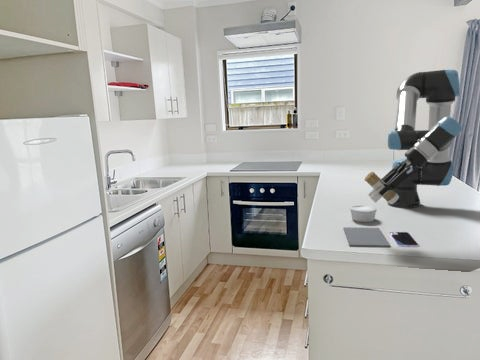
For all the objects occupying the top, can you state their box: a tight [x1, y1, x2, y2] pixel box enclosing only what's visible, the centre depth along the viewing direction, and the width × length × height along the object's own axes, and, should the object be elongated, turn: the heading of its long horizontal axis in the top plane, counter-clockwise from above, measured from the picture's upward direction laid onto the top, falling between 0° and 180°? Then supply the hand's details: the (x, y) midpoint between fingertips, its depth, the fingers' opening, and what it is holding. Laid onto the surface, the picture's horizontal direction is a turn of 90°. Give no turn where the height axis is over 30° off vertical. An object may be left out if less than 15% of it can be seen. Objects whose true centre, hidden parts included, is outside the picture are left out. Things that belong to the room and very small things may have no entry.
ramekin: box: [349, 204, 377, 223], centre depth 159 cm, size 11×11×5 cm
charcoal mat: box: [343, 226, 392, 248], centre depth 137 cm, size 20×14×1 cm
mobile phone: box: [388, 231, 420, 248], centre depth 133 cm, size 8×1×15 cm
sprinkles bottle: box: [364, 171, 399, 205], centre depth 132 cm, size 5×5×13 cm
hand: (371, 198), depth 134 cm, fingers closed on sprinkles bottle, 4 cm apart
